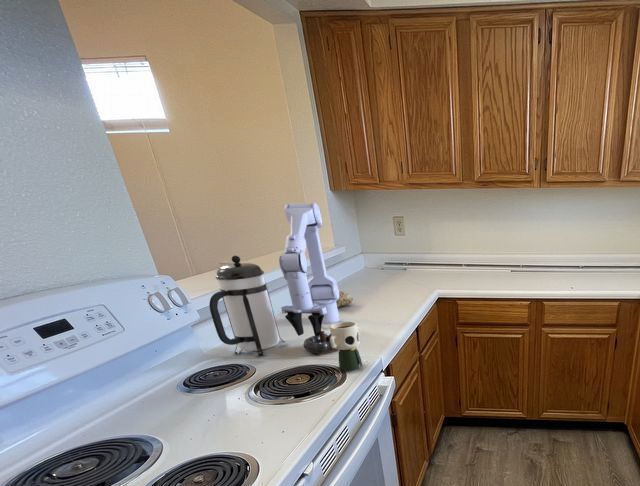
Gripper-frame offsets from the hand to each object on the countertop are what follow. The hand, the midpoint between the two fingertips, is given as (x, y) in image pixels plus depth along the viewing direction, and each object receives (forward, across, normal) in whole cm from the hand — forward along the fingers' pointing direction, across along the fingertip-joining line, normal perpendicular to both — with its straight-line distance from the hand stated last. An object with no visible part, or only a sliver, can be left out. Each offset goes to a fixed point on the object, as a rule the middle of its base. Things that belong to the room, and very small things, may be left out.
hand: (309, 335), depth 134 cm
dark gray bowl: (+2, +5, 0) cm, 5 cm away
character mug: (+5, +22, -14) cm, 26 cm away
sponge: (+5, -22, +46) cm, 51 cm away
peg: (+5, +5, 0) cm, 7 cm away
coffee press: (+5, -16, -5) cm, 18 cm away
